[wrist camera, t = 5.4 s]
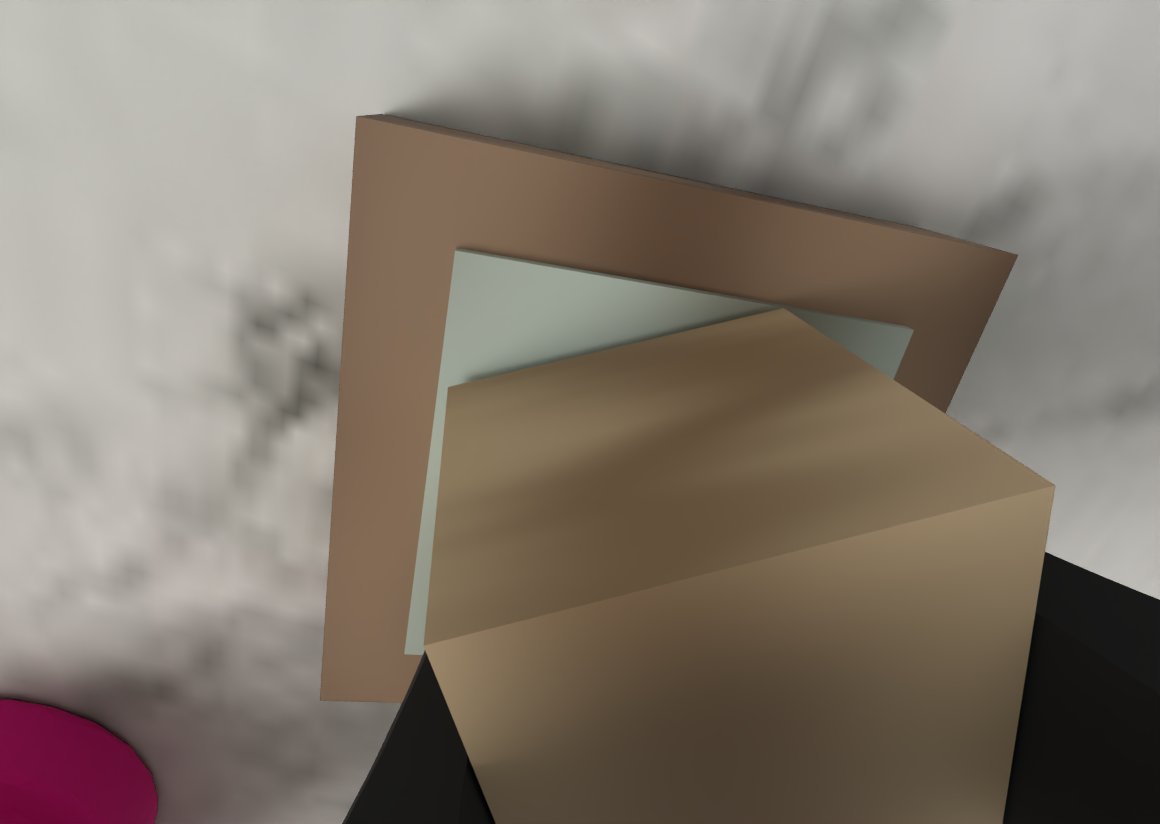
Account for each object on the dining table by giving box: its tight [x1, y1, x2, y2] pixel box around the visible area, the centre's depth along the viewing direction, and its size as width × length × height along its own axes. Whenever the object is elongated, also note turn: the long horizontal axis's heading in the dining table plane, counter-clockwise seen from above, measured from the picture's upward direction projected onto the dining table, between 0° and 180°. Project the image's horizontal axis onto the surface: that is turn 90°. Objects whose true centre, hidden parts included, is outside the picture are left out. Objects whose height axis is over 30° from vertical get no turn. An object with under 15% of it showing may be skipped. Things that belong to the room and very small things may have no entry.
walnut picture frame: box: [320, 114, 1018, 703], centre depth 12 cm, size 10×10×3 cm
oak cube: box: [423, 308, 1055, 824], centre depth 8 cm, size 5×5×5 cm
